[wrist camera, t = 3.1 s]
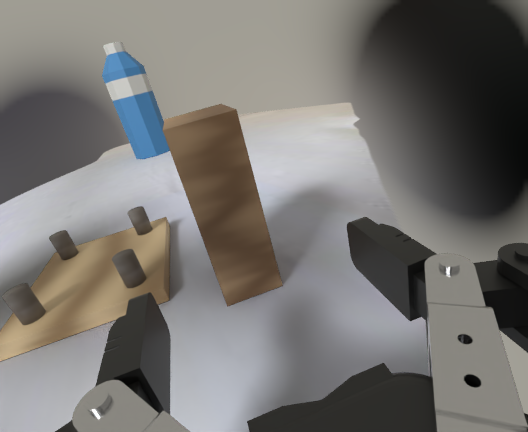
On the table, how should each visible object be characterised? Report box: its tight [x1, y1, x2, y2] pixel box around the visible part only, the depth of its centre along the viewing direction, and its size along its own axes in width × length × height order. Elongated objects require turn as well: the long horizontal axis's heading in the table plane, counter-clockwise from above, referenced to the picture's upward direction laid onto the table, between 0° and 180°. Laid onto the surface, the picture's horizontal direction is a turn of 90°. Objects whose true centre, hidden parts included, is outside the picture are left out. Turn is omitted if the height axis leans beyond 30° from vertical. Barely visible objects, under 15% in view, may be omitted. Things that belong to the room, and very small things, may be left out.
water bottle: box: [102, 42, 170, 159], centre depth 76 cm, size 9×9×25 cm
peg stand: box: [0, 207, 170, 361], centre depth 28 cm, size 12×14×4 cm
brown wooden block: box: [163, 104, 283, 306], centre depth 22 cm, size 4×6×12 cm, turn 16°
